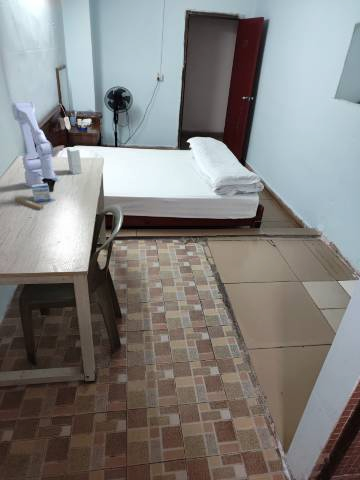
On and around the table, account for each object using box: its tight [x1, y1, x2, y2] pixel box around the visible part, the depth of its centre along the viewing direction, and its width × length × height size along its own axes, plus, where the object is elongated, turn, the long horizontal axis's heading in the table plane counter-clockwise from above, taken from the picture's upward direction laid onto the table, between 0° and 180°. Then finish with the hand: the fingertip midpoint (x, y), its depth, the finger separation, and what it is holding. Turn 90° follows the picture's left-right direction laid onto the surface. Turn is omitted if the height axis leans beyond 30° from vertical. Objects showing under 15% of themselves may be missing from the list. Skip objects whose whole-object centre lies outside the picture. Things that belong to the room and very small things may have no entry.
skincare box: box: [66, 147, 83, 175], centre depth 208 cm, size 8×6×15 cm
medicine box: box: [30, 183, 51, 203], centre depth 169 cm, size 8×4×9 cm, turn 117°
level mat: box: [14, 196, 56, 211], centre depth 170 cm, size 18×13×2 cm
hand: (50, 191), depth 176 cm, fingers closed
